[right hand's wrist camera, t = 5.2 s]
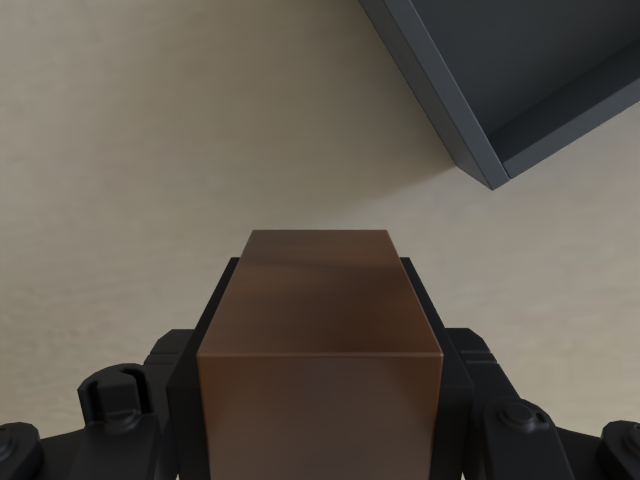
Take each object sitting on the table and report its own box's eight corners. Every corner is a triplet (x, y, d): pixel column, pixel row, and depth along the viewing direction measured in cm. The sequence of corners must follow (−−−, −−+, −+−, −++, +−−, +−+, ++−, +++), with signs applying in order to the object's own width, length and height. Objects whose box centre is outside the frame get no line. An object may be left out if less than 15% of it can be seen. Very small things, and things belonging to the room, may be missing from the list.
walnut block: (258, 344, 16) (215, 531, 9) (251, 229, 14) (194, 353, 8) (380, 344, 16) (423, 531, 9) (387, 229, 14) (445, 353, 8)
